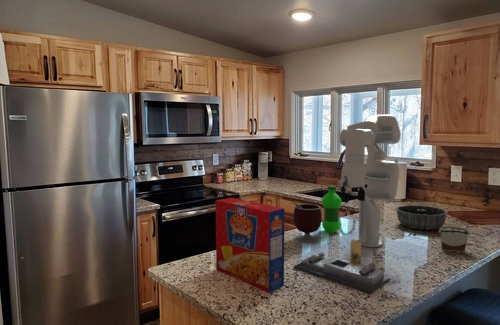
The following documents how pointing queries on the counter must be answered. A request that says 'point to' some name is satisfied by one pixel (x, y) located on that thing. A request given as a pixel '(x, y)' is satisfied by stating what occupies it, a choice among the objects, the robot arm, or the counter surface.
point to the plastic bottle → (331, 210)
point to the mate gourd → (307, 222)
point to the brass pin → (356, 251)
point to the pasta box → (250, 242)
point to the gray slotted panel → (344, 272)
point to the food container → (453, 238)
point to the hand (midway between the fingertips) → (353, 201)
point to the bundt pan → (421, 217)
